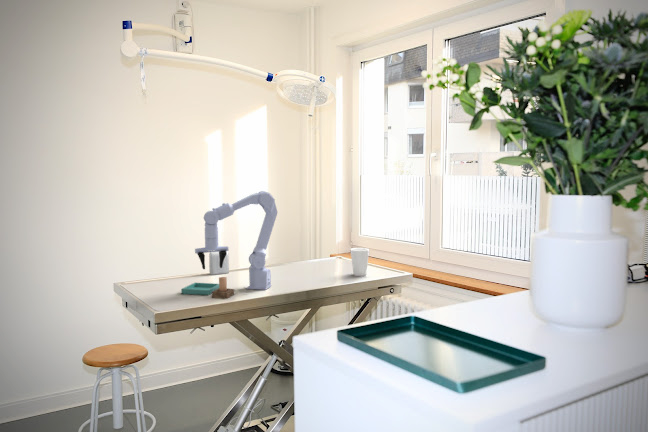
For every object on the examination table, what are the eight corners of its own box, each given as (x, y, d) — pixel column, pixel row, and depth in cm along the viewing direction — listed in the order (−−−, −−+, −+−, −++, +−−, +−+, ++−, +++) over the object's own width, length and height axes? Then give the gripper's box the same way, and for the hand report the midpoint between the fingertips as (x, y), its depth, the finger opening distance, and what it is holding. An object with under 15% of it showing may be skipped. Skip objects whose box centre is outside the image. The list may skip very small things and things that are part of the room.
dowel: (228, 295, 238) (227, 277, 237) (225, 297, 235) (224, 278, 234) (221, 294, 239) (220, 276, 238) (218, 296, 236) (217, 278, 235)
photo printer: (226, 271, 288) (226, 248, 287) (230, 273, 284) (229, 249, 283) (208, 274, 282) (207, 250, 281) (211, 275, 279) (210, 251, 277)
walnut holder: (233, 294, 239) (233, 288, 239) (227, 298, 233) (227, 292, 232) (218, 293, 241) (218, 288, 241) (212, 297, 234) (211, 291, 234)
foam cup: (346, 274, 280) (346, 249, 279) (360, 271, 286) (360, 247, 285) (359, 277, 273) (359, 251, 272) (372, 274, 278) (373, 249, 277)
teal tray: (220, 288, 250) (220, 283, 250) (208, 295, 238) (208, 290, 238) (194, 287, 253) (194, 282, 253) (181, 293, 241) (181, 288, 241)
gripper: (225, 235, 251) (226, 265, 252) (193, 237, 245) (194, 267, 246) (229, 237, 244) (230, 267, 246) (196, 239, 239) (197, 270, 240)
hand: (212, 268), depth 246 cm, fingers open, 7 cm apart
